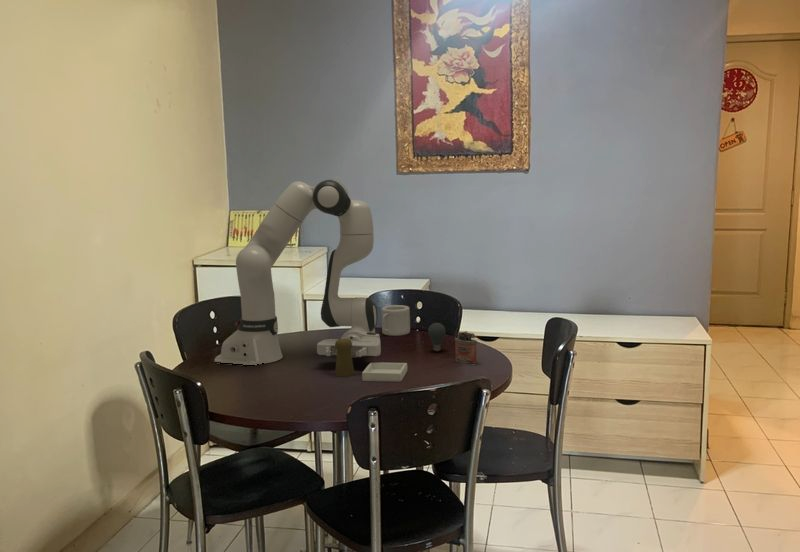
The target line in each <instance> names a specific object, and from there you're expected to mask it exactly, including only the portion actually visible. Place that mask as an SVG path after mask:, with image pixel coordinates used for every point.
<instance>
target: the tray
mask: <svg viewBox="0 0 800 552" xmlns="http://www.w3.org/2000/svg"><path fill="white" fill-rule="evenodd" d="M407 373H408V363H407V362H379V361H378V362H374V361H371V362H370V363H369V364H367V366H366V367H365V368H364V370H363V371H362V372H361V378H362V381H363V382H387V383H388V382H389V383H390V382H391V383H393V382H395V383H402V380H403V379H404V378H405V375H406V374H407Z"/></svg>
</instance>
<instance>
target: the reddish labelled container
mask: <svg viewBox="0 0 800 552" xmlns="http://www.w3.org/2000/svg"><path fill="white" fill-rule="evenodd" d="M457 336H458V337H455V338H454V342H455V345H454V346H455V358H454V362H455V361H456V362H455V363H458V362H459V364H462V363H464V364H463V365H468V364H476V365H477V364H478V361H477V344H478V341H477V340H476V339H474V338H475V337H476V336H475V333H473V332H468V331H466V330H465V331H458V333H457Z"/></svg>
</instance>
